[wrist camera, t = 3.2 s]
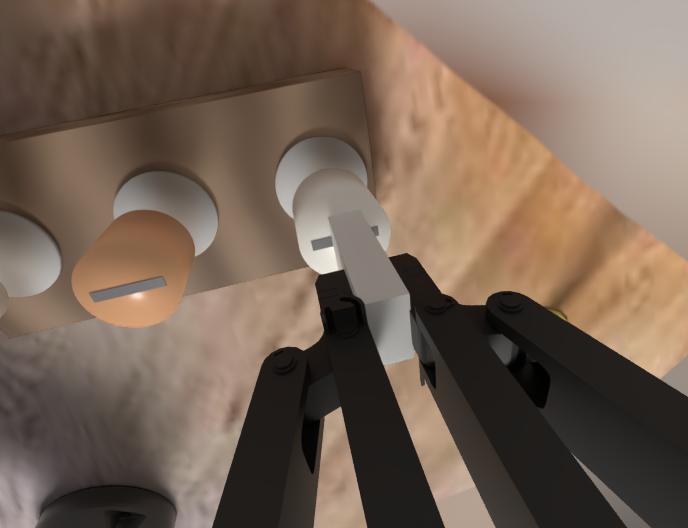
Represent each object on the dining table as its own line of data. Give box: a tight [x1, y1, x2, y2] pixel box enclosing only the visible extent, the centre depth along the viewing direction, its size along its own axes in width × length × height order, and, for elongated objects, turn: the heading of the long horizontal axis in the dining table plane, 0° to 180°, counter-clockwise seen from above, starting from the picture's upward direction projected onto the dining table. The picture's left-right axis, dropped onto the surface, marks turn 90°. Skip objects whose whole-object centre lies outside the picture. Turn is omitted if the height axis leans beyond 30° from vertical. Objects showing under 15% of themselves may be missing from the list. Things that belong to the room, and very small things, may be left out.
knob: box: [292, 168, 391, 274], centre depth 19 cm, size 4×4×4 cm
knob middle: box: [71, 210, 195, 328], centre depth 18 cm, size 4×4×4 cm
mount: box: [0, 68, 376, 338], centre depth 25 cm, size 27×12×5 cm, turn 99°
